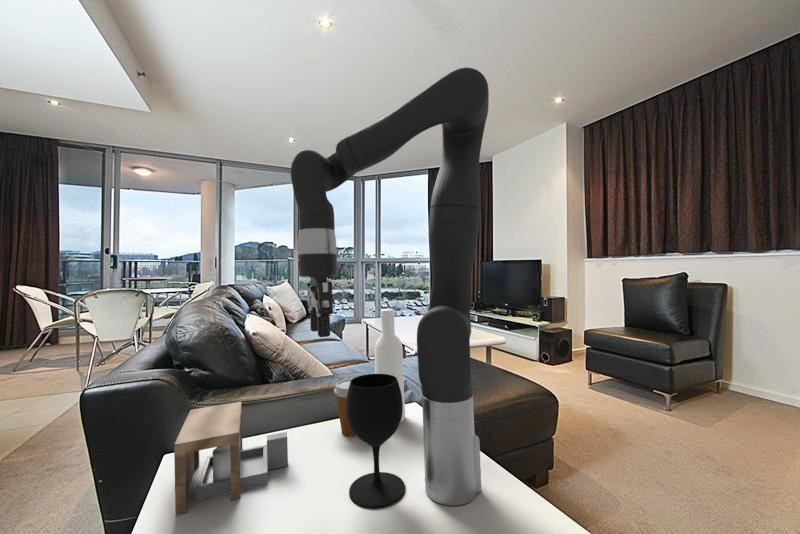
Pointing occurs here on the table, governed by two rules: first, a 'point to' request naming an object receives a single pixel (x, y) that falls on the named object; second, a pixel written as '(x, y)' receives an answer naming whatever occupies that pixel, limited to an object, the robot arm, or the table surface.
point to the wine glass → (375, 435)
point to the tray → (242, 466)
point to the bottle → (390, 352)
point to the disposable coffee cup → (343, 405)
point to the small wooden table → (207, 446)
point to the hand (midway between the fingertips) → (319, 333)
